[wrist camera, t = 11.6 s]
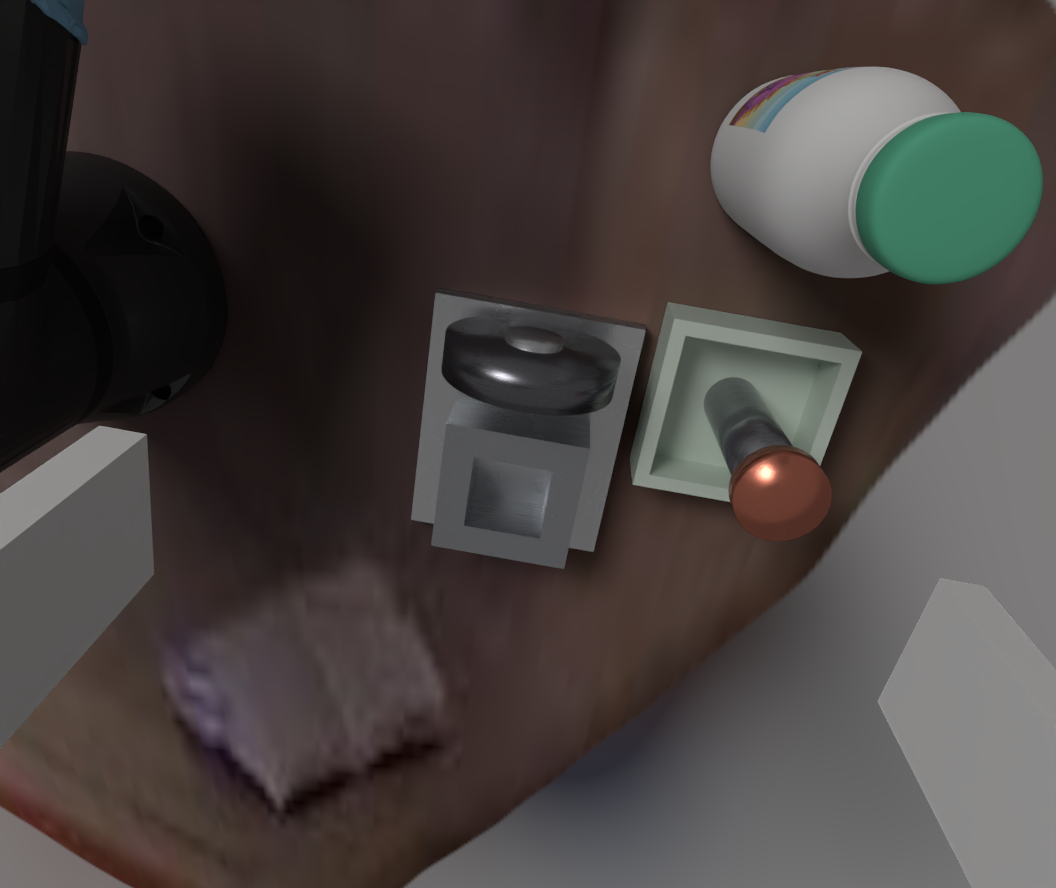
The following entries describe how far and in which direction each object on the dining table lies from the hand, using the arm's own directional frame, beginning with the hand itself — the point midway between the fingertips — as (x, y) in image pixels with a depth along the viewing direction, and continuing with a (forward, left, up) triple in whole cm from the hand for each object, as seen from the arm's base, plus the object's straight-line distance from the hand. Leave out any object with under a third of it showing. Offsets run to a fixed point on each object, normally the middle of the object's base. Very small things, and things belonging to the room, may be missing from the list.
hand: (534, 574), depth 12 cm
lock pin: (+11, -7, -31) cm, 34 cm away
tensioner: (-1, -11, -32) cm, 34 cm away
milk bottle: (+10, +6, -32) cm, 34 cm away
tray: (+11, -7, -32) cm, 34 cm away
